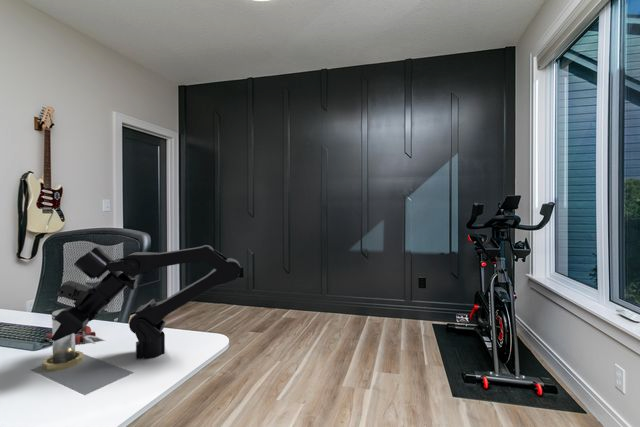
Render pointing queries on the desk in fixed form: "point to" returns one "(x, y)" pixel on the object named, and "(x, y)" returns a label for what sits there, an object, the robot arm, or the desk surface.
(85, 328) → the pliers
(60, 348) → the piston
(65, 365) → the socket collar
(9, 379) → the desk surface
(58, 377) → the mat
